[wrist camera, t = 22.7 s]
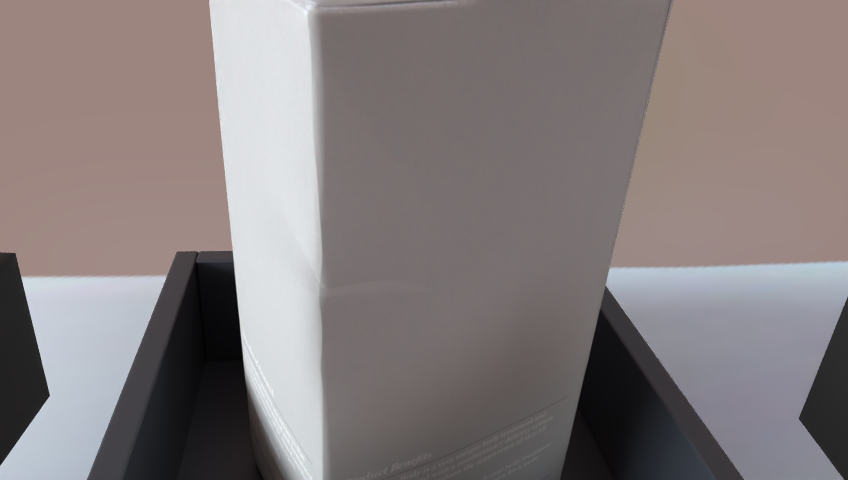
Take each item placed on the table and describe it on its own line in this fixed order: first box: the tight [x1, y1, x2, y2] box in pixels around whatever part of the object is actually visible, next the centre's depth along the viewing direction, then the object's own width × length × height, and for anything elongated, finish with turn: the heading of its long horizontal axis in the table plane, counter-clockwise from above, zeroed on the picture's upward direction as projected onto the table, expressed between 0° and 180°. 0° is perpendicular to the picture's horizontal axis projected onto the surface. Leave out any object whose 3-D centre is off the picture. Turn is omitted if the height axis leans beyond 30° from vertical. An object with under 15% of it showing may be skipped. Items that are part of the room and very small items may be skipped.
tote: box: [87, 251, 744, 480], centre depth 21 cm, size 16×16×5 cm
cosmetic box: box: [209, 0, 674, 480], centre depth 18 cm, size 8×7×16 cm
